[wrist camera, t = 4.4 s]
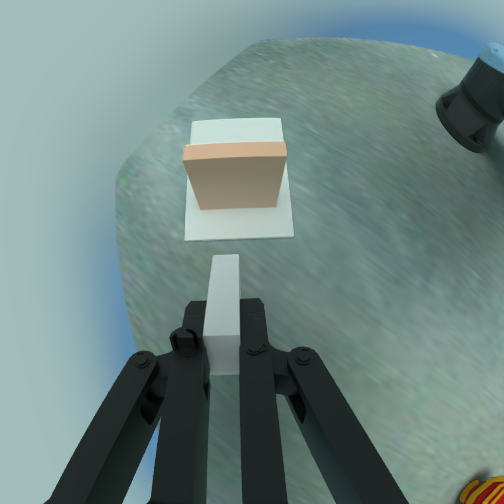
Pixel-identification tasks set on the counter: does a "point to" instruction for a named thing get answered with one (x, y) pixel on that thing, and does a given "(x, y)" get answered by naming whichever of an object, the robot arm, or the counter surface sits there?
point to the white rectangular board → (241, 219)
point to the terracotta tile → (235, 173)
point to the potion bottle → (484, 492)
